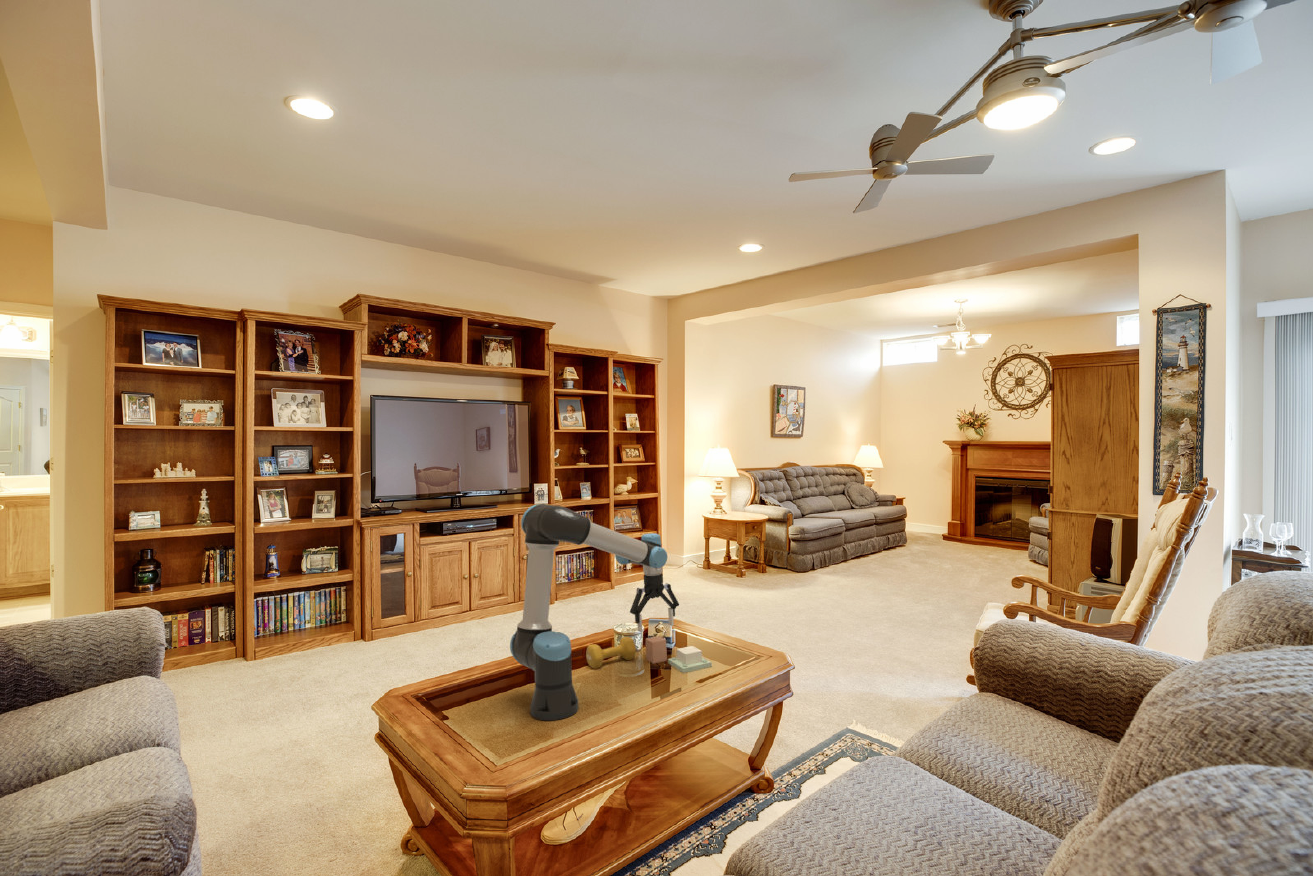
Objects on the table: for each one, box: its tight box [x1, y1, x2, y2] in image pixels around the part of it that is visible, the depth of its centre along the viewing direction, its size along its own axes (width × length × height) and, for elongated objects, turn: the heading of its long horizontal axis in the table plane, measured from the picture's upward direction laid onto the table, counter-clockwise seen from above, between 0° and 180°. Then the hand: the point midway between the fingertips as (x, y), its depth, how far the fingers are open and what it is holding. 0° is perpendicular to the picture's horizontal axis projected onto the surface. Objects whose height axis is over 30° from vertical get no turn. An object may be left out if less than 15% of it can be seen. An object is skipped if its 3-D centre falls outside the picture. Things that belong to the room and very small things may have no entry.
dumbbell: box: [585, 636, 637, 669], centre depth 234 cm, size 19×9×8 cm, turn 121°
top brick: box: [645, 635, 668, 665], centre depth 235 cm, size 6×6×8 cm
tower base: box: [667, 645, 712, 674], centre depth 228 cm, size 12×12×6 cm
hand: (655, 628), depth 235 cm, fingers open, 13 cm apart
